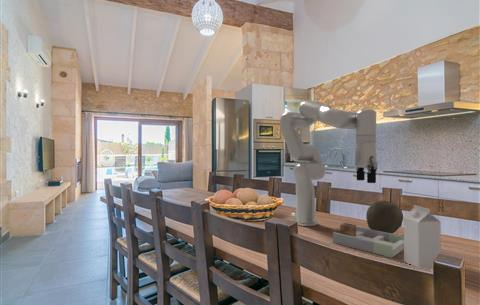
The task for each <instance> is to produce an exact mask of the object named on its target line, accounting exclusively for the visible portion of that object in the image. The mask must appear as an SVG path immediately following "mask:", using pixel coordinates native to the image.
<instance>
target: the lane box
mask: <svg viewBox="0 0 480 305" xmlns="http://www.w3.org/2000/svg"><path fill="white" fill-rule="evenodd" d="M332 243H334V244H338V245H341V246H345V247H348V248H352V249H356V250H360V251H363V250H364V252H367V251H368V252H367V253H371V252H372V254H375V253H376V255H379V254H380V255H379V256H382V255H383V256H384V257H387V258H392V259H393V257H395V256H396V255H397V254H399V253H400V252H402V251H404V235H402V234H401V235H400V234H395V233H393V234H391V233H386V232H381V231H376V230H371V229H370V228H366V227H362V226H361V227H360V226H356V236H355V237H353V236H348V235H344V234H340V233H339V232H335V231H333V232H332ZM383 256H382V257H383Z"/></svg>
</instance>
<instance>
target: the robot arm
mask: <svg viewBox="0 0 480 305" xmlns="http://www.w3.org/2000/svg"><path fill="white" fill-rule="evenodd" d="M316 122H321V123H322V124H323V125H327V126H328V127H333V128H336V129H343V130H355V151H354V152H355V154H354V166H355V167H356V168H355V170H356V181H365V179H366V183H368V184H375V183H377V170H378V164H379V162H378V161H377V148H376V144H377V112H376V110H374V109H361V110H357V112H354V111H347V110H339V109H335V108H332V107H331V106H330V105H329V104H325V103H323V102H321V101H314V100H305V101H302V102H301V103H300V105H299V107H298V112H295V111H287V112H285V113H283V114H281V116H280V119H279V123H278V124H279V131H280V133H281V135H282V137H283V139H284V142H285V143H286V147H287V150H288V152H289V155H290V158H291V160H292V161H294V162H297V164H296V165H295V166H294V168H293V176H294V180H295V183H294V184H295V212H291V214H290V217H291V218H293V220H292V222H293V221H297V222H298V225H297V226H300V227H301V226H302V227H315V226H318V225H319V221H318V220H316V211H315V210H316V199H315V198H316V195H315V194H316V191H315V185H314V184H313V181H318V180H321V179H323V178H324V177H325V174H326V169H325V168H326V166H325V165H324V163H323V160H322V157H321V155H320V152H319V150H318V149H317V147H316V146H315V145H313V144H309V143H308V144H307V143H304V142H303V140H302V137H301V135H300V134H299V132H298V131H297V130H296V128H297V129H307V128H309V127H311V126H312V125H313V124H315V123H316ZM365 169H367V172H366V174H365ZM365 175H366V176H367V177H366V178H365Z"/></svg>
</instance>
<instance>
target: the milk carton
mask: <svg viewBox="0 0 480 305" xmlns="http://www.w3.org/2000/svg"><path fill="white" fill-rule="evenodd" d="M441 224H442V223H441V221H440V219H438V218H437V217H436V216H434V215H433V214H432V213H431V209H430V208H428V207H427V208H426V207H424V206H421V205H416V204H413V208H411V209H410V211H409V212H407V213H406V214H405V215H403V236H404V249H403V259H404V260H403V262H404V263H406V264H408V265H409V264H411V265H415V266H418V267H421V268H427V269H432V263H433V260H434V259H435V257H436V256H437V255H438V254H441V255H442V251H441V250H442V242H441V241H442V237H441V236H442V233H441V231H442V229H441V228H442V227H441V226H442V225H441ZM411 265H410V266H411Z"/></svg>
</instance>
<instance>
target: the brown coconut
mask: <svg viewBox="0 0 480 305" xmlns="http://www.w3.org/2000/svg"><path fill="white" fill-rule="evenodd" d="M365 216H366V218H365V219H366V223H367V226H368V229H371V230H376V231H381V232H386V233H391V234H395V233H396V232H397V231H398V230H399V229H400V227H401V226H402V224H403V223H404V214H403V211H402V209H401V208H400V207H399V206H398V205H396V203H393V201H388V200H387V201H386V200H377V201H374V202H373V203H372V204H371V205H369V206H368V208H367V210H366V215H365Z"/></svg>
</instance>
